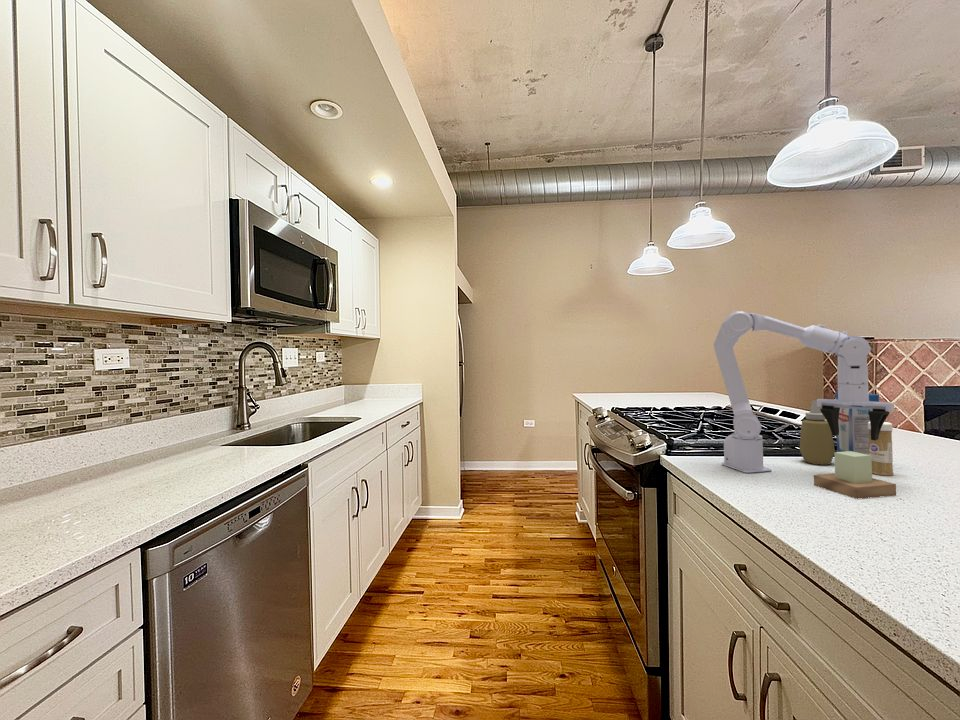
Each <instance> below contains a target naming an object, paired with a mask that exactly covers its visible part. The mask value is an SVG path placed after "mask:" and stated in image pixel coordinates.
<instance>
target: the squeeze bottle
mask: <svg viewBox="0 0 960 720" xmlns="http://www.w3.org/2000/svg"><path fill="white" fill-rule="evenodd" d="M820 409H821V407H817V400H812V402H811V406H810V410H809V412H805V419H804V420H801V426H800V437H799V438H800V439H799V449H798V450H799V453H800V454H801V456H802V459H803V461H804V462H806V463H809V464H812V465H818V464H820V465H821V466H827V465H830V464H831V463H832V461H833V458H834V457H835V456H834V452H836V449H835V443H834V438H833V437H834V436H833V435H832V432H831V429H830V427H829V424H828V422H827V420H826V418H825V417H824V415H823V414H822V413H821V411H820ZM820 465H819V466H820Z"/></svg>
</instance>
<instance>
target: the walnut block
mask: <svg viewBox="0 0 960 720" xmlns="http://www.w3.org/2000/svg"><path fill="white" fill-rule="evenodd" d="M813 486H814V487H818V486H819V487H818V488H821V487H822V489H824V488H825V490H828V491H832V492H835V493H837V492H838V494H840V495H843V494H844V496H846V495H847V497H850V498H853V497H854V498H853V499H856V498H857V499H856V500H859V499H858V498H862V499H871V498H870V497H873V498H881V497H880V496H884V497H892V496H893V495H895V496H897V484H896V483H893V482H889V481H885V480H881V479H877V478H873V477H872V482H864V483H852V482H849V481H845V480H842V479H838V478H835V472H834V473H833V472H832V473H821V474H814V475H813ZM868 497H869V498H868Z"/></svg>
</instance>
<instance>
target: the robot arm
mask: <svg viewBox="0 0 960 720" xmlns="http://www.w3.org/2000/svg"><path fill="white" fill-rule="evenodd" d="M751 329H752V332H759V331H768V332H772V333H775V334H780V335H782V336H787V337H790V338H791V337H792V338H794V339H798V340H799V341H800V343H801V345H802V346H804V347H807V348H810V349H815V350H817V351H820V352H824V353H827V354H835V355H836V356H837V365H836V371H837V377H836V378H837V392H838V399H835V398H833V399H832V398H830V399H829V398H817V399H816V401H817V407H820V411H821V413H822V414H823V415H824V417H825V418H826V420H825V421H827V422H828V424H829V427H830V429H831V432H832V436H833V437H834V436H835V437H837V435H839V422H838V421H839V411H840V408H851V409H866V410H873V411H869V412H868V414H869V418H870V424H871V440H878V437H879V433H880V430H881V427H882V425H883V423H884V422H886V420H887V418H888V416H889V415H890V413H891V412H895V403H894V402H885V401H879V402H875V401H869V393H870V392H869V368H868V358H867V356H868V355H870V352H871V351H872V347H871V346H870V343H869V342H868V340H866V339H865V338H864V337H861V336H857V335H853V336H851V335H848V334H849V332H847V331H841V332H840V331H836V330H834V329H829V328H826V325H824V324H818V325H815V324H812V325H809V326H807V327H802V326H800V325H796V324H794V323H790V322H786V321H784V320H781V319H777V318H774V317H771V316H768V315H764V314H759V313H752V312H750V313H748V312H746V311H742V310H737V311H733V312H732V313H730V314H729V315H728V316H727V317H726V318H725V319H724V321H723V322H722V323H721V325H720V327H719V329H718V331H717V335H716V336H715V339H714V342H713V348H714V353H715V355H716V359H717V361H718V365H719V369H720V372H721V376H722V379H723V381H724V386H725V388H726V392H727V395H728V399H729V401H730V404H731V408H732V412H733V419H732V424H733V429H734V432H732V433H731V434H729V435H728V436H726V437H725V438H724V442H723V455H724V456H723V457H724V458H723V460H724V461H723V462H721V465H723V466H725V467H728V468H731V469H734V470H736V471H739V472H742V473H745V474H747V473H763V472H764V473H765V472H772V471H773V470H772V468H769V467H766V466H764V447H763V445H764V444H763V442H764V441H763V435H761V434H760V433H761V431H762V425H761V422H760V421H759V418H758V416H757V415H756V414H754V413H753V409H752V407H751V404H750V399H749V397H748V394H747V390H746V387H745V383H744V381H743V377H742V374H741V370H740V367H739V364H738V361H737V358H736V355H735V351H734V346H735V345H736V344H737V342H738V341H739V339H740V338H741V337H742V336H744V335H745V334H746V333H747V332H748V331H750V330H751ZM839 405H855V406H862V407H854V406H839Z"/></svg>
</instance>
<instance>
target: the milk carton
mask: <svg viewBox="0 0 960 720" xmlns="http://www.w3.org/2000/svg"><path fill="white" fill-rule="evenodd" d="M834 399H838V391H835V392H834ZM869 401H875V402H880V395H879V394H875V393H870V392H869ZM839 406H854V407H862V406H855V405H839ZM869 411H873V410H866V409H851V408H840V411H839V421H838V422H839V435H837V436H836V452H845V451H853V452H858V453H862V454H867V455H869V429H868V422H870V418H869V414H868V412H869Z"/></svg>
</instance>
